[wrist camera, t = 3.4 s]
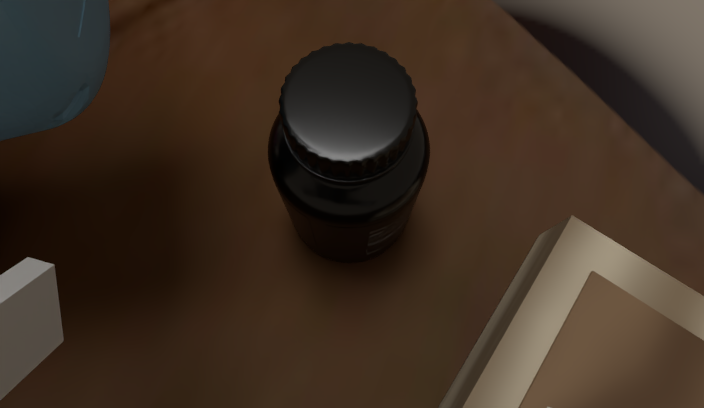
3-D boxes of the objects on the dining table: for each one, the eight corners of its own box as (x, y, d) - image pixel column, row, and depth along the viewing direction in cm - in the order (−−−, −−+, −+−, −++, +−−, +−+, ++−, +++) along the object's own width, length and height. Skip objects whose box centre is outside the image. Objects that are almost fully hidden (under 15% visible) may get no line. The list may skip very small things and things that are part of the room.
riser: (429, 421, 23) (447, 436, 19) (539, 235, 26) (574, 214, 22) (647, 582, 21) (717, 636, 17) (738, 360, 24) (814, 362, 20)
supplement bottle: (396, 148, 28) (431, 7, 17) (416, 256, 26) (472, 181, 15) (284, 161, 28) (243, 27, 16) (296, 272, 26) (257, 208, 14)
